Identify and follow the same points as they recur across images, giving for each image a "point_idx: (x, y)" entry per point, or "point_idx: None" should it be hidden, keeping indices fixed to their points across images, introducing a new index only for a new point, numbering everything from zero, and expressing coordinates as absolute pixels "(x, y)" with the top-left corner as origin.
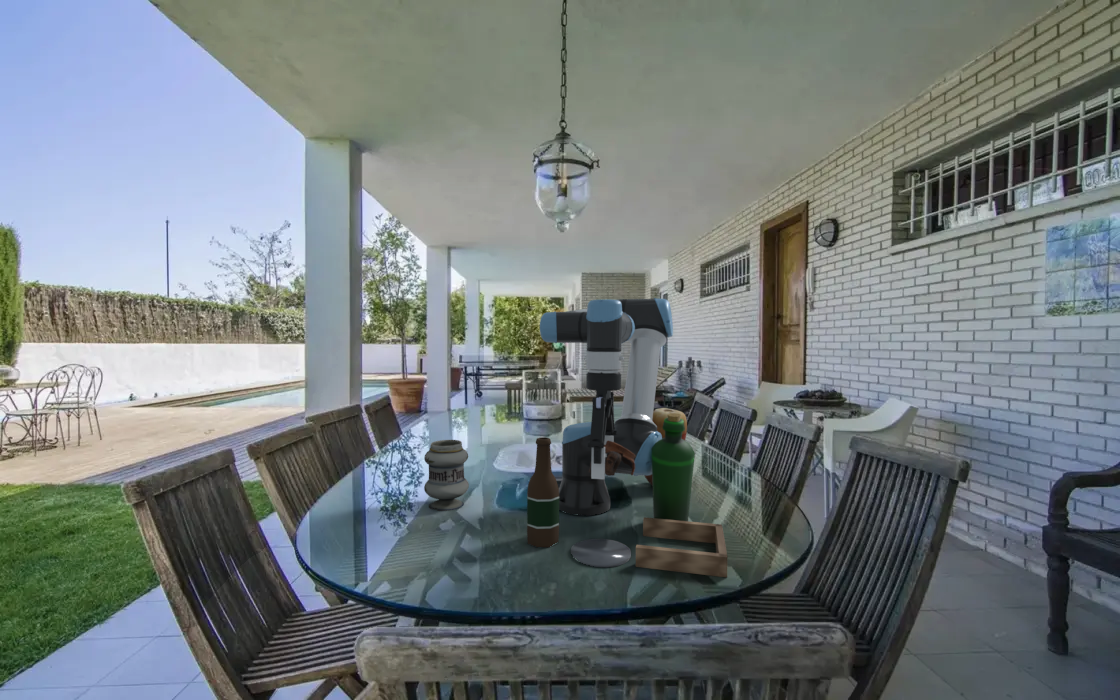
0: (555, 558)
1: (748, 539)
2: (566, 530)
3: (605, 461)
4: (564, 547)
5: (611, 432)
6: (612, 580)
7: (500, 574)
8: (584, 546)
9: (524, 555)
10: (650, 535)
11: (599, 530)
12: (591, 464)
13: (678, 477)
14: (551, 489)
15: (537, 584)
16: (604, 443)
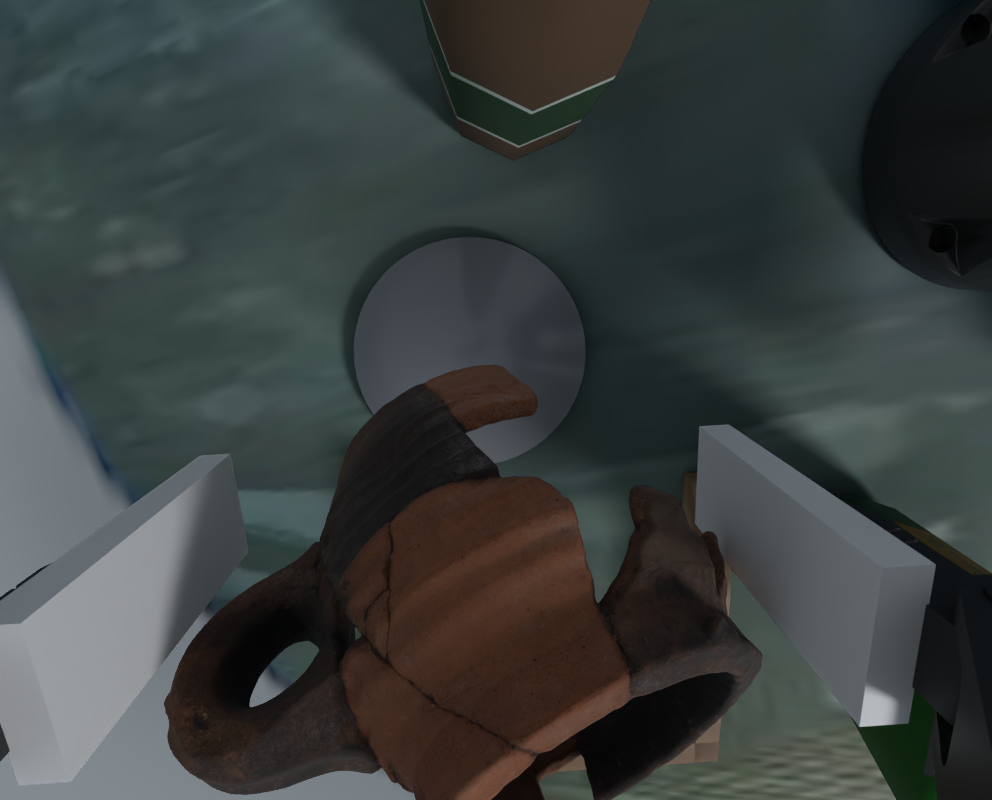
0: (372, 193)
1: (731, 776)
2: (674, 151)
3: (320, 600)
4: (487, 197)
5: (940, 744)
6: (281, 435)
7: (148, 13)
8: (487, 286)
9: (352, 48)
10: (684, 501)
11: (706, 297)
12: (127, 508)
13: (886, 770)
14: (467, 48)
15: (141, 195)
16: (804, 551)
